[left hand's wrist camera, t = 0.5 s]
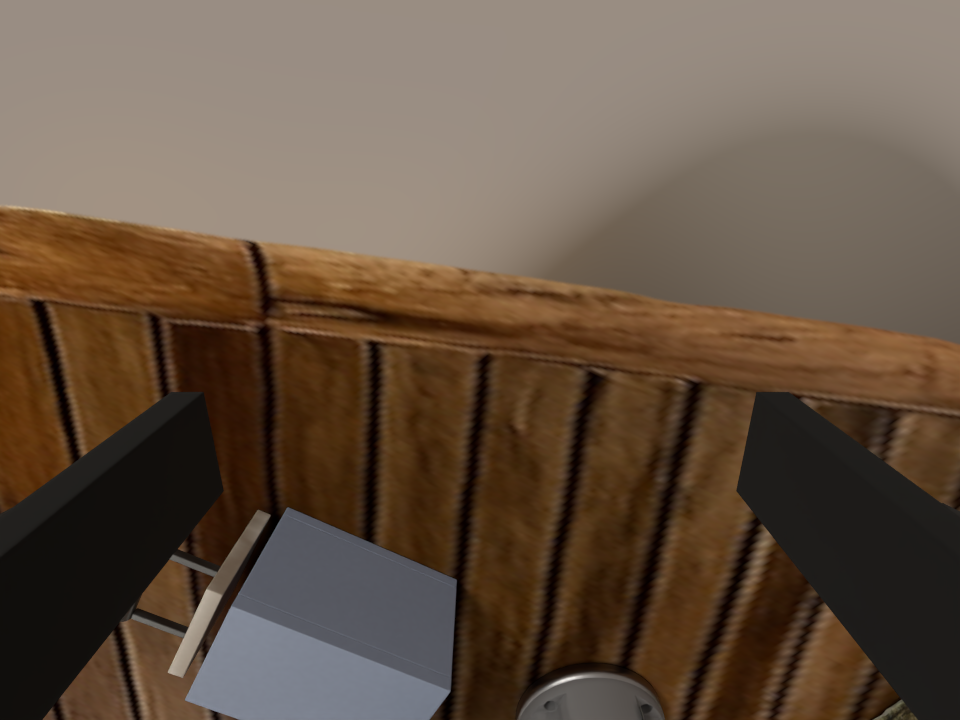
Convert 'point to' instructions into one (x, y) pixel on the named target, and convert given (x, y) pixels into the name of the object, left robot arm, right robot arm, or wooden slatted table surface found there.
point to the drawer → (205, 595)
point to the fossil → (897, 713)
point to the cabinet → (331, 633)
